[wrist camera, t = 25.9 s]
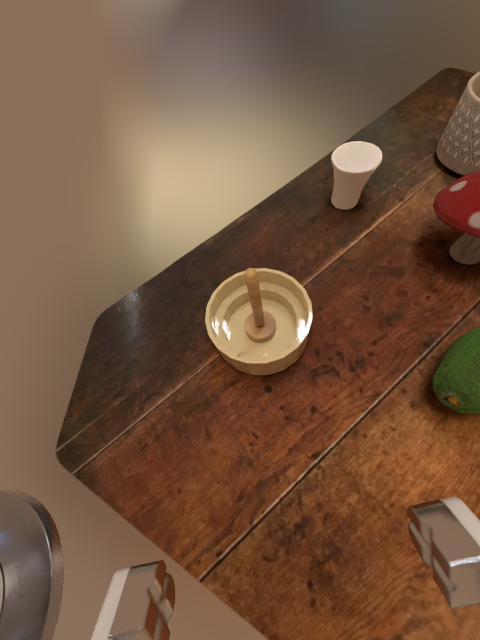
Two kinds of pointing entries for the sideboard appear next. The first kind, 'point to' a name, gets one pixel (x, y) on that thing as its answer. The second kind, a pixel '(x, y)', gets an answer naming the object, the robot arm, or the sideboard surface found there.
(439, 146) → the planter
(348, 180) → the cup
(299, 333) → the mixing bowl
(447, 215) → the decorative mushroom
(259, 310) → the wooden dowel stand
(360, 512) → the sideboard surface
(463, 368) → the fruit
